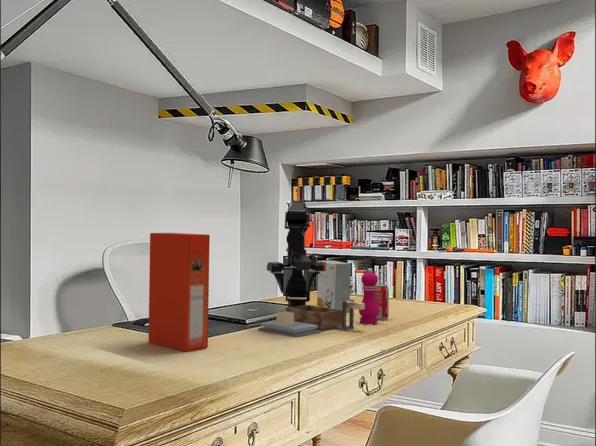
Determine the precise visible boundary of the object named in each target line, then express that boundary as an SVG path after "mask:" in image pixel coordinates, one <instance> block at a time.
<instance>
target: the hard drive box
mask: <svg viewBox="0 0 596 446" xmlns="http://www.w3.org/2000/svg"><path fill="white" fill-rule="evenodd" d="M317 262H321V263H323V264H324V271H319V272H320V274H317V286H316V289H317V292H316V294H317V295H316V297H317V298H316V306H319V307H326V308H333V309H340V310H342V307H341V301H350V300H351V269H352V268H351V267H352V265H351V263H349V262H345V261H344V262H343V261H338V260H318V261H317ZM346 313H350V308H346Z"/></svg>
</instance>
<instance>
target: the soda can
mask: <svg viewBox="0 0 596 446" xmlns="http://www.w3.org/2000/svg"><path fill="white" fill-rule="evenodd" d="M388 285H389V284H385V283H384V284H383V283H377V284H376V290H375V299H376V302H377V305H378V308H379V314H378V315H377V316H376V318H377V321H387V320H388V318H389V316H390V315H389V312H390V311H389V309H390V308H389V305H390V303H389V299H390V293H389V290H390V288H389V287H388Z"/></svg>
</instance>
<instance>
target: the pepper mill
mask: <svg viewBox="0 0 596 446" xmlns="http://www.w3.org/2000/svg"><path fill="white" fill-rule="evenodd" d="M360 280H361V284H363V285H362V290H363V297H362V301H361V302H360V303H365V309H363V310H358V314H359V315H360V316H361V317H360V318H359V324H361V323H362V325H367V324H374V325H377V324H378V320H377V318H376V316H377V315H378V314H379V308H378V305H377V302H376V299H375V290H376V284H379V283H378V282H379V277H378V275H377V274H376V273H374V272H373V269H372V268H371V267H369V268H367V272H365V273H363V274H362V276H361V279H360Z"/></svg>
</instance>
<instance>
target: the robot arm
mask: <svg viewBox="0 0 596 446" xmlns="http://www.w3.org/2000/svg"><path fill="white" fill-rule="evenodd" d="M284 214H285V217H284V218H285V219H284V229H286V230H288V232H287V235H286V242H287V248H286V249H285V250H286V252H287V255H286V256H287V258H286V260H285V263H283V262H279V261H268V263H267V265H266V271H267V272H270V274H272V275H274V277H275V280H276V282H277V284H278V288H279V290H280V293H281V294H284V292H285V302H287V308H289V307H296V306H304V305H307V304H306V303H309V302H310V301H311V299H310V298H311V287H312V285H313V283H314V280H315V278H316V276H318V274H320V272H319V271H324V264H323V263H321V262H318V261H317V256H316V255H315V254H310V255H307V249H306V247H305V245H306V232H307V231H308V229H309V228H310V227H311V210H310V209H309V208H308V207H307V205H306V201H300V200H297V201H296V200H293V201H291V206H290V207H288V209H287V211H285V213H284ZM285 270H290V271H291V270H292V271H291V275H290V276H289V279H288V280H287V284H286V285H284V276H285V272H283V271H285ZM304 270H305V271H306V272H305V275H306V276H305V275H304ZM284 286H285V289H284ZM284 290H285V291H284Z"/></svg>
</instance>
